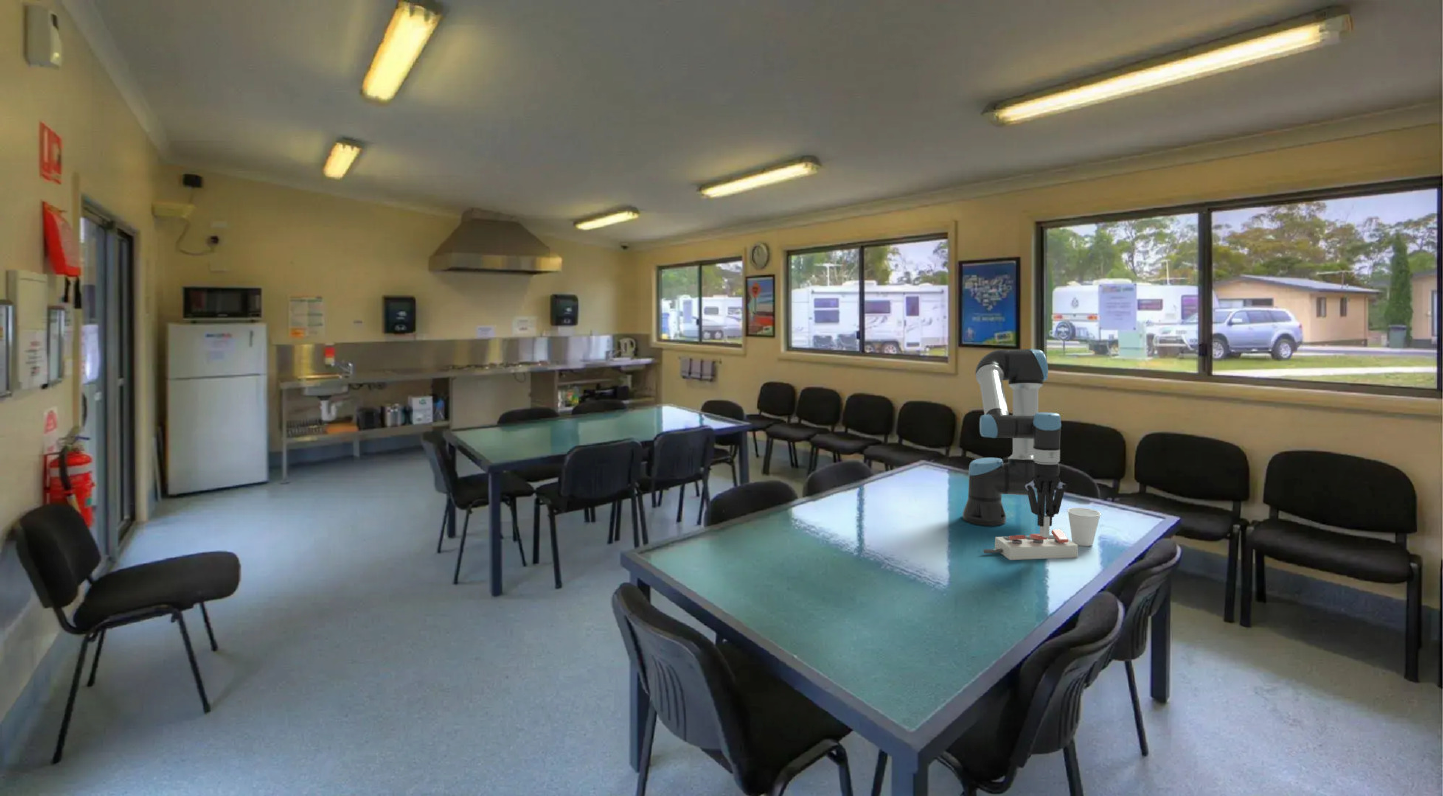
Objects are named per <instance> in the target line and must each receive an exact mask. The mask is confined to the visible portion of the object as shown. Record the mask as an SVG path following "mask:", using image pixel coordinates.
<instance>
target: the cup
mask: <svg viewBox="0 0 1443 796" xmlns="http://www.w3.org/2000/svg"><path fill="white" fill-rule="evenodd" d="M1066 511H1067V515H1068V521H1069V528H1070V533H1071V534H1070V535H1071V541H1072V542H1073V543H1075V544H1077V545H1078V546H1081V547H1090V546H1091V547H1092V545H1094V542H1095V537H1096V533H1097V528H1098V525H1099V521H1100V519H1101V518H1100V517H1101V516H1102V513H1101V512H1100V511H1098V510H1095V509H1093V508H1092V509H1091V508H1086V507H1069V508H1067V509H1066Z"/></svg>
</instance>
